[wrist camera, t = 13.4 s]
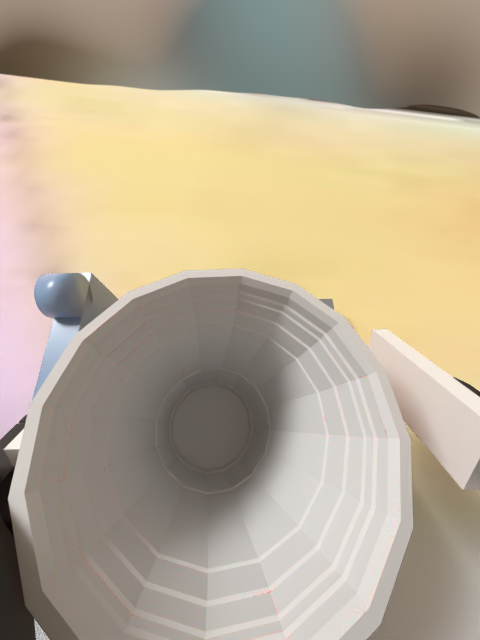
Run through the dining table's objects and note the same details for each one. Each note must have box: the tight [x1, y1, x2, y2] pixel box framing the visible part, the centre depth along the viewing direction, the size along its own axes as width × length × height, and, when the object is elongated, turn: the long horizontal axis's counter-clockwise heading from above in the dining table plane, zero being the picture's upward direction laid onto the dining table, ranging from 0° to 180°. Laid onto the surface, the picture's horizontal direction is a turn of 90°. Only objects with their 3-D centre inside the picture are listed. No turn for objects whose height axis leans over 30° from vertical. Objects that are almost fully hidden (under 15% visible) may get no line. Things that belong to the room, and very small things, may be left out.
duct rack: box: [32, 273, 334, 400], centre depth 12 cm, size 18×30×9 cm, turn 2°
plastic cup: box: [8, 269, 413, 640], centre depth 12 cm, size 11×11×12 cm
